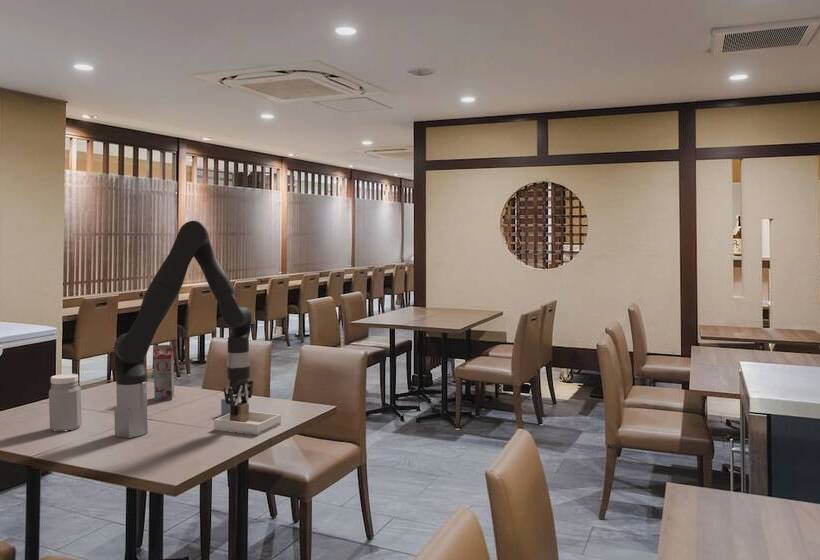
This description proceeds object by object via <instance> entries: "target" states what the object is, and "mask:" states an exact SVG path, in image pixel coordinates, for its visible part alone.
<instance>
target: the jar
mask: <svg viewBox="0 0 820 560" xmlns="http://www.w3.org/2000/svg"><path fill="white" fill-rule="evenodd" d="M78 381H79V374H77V373H63V374H62V373H61V374H56V375H52V376H50V389H49V391H48V407H49V408H48V409H49V410H48V411H49V429H50V430H55V431H65V430H71V431H73V430H72V429H75V430H77V429H79V428H81V426H82V423H83V421H82V390H81V386H79V382H78ZM78 427H79V428H78ZM76 428H77V429H76ZM55 431H54V432H55ZM65 432H66V431H65Z"/></svg>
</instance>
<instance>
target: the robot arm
mask: <svg viewBox="0 0 820 560" xmlns="http://www.w3.org/2000/svg"><path fill="white" fill-rule="evenodd" d="M193 258H194V260H196V262H197V263H198V265H199V267H200V269H201V271H202V274H203V275H204V278H205V280H206V282H207V284H208V286H209V289H210V290H211V292H212V295H213V296H214V297H215V300H216V302H217V304H218V308H219V311H220V314H221V318H222V319H223V322H224V323H225V324H226V325H227V327H229V328H230V329H231V333H230V334H229V336H228V337H227V355H226V357H227V358H226V368H227V369H226V373H227V376H226V377H227V380H229V385H228V386H227V387H224V388H223V395H224V398H225V401H226V404H229V405H230V406H231V416H237V415H238V409H237V402H238V399H239V400H240V403H248V401H249V399H251V398H253V397H252V395H253V388H254V381H253V380H249V379H250V378H251V362H250V361H251V360H250V359H251V358H250V344H249V343H250V341H249V340H250V333H251V328H252V321H253V319H252V313H251V311H250V309H249V308H248V307H246V306H244V305H240V306H239V304H238V301H237V299H236V298H237V297H238V293H237V291H236V289H235V287H234V285H233V283H232V282H231V279H230V277H229V276H228V275H227V273H226V271H225V270H224V268H223V267H222V265H221V263H220V262H219V260H218V258H217V256H216V254H215V252H214V250H213V247H212V243H211V241H210V235H209V231H208V230H207V228H206V226H205V225H204V224H203V223H202V222H200V221H197V220H189V221H187V222H185V223H184V224H183V225H182V226H181V227H180V228H179V230H178V233H177V235H176V238H175V239H174V243H173V244H172V247H171V249H170V252H169V253H168V255H167V257H166V258H165V260H164V261H163V263H162V264H161V265H160V267H159V269H158V270H157V272H156V274H155V275H154V277H153V278H152V280H151V282H150V283H149V285H148V288H147V289H146V291H145V293H144V296H143V299H142V300H141V304H140V309H139V312H138V315H137V317H136V318H135V320H134V322H133V324H132V325H131V327H130V329H129V330H128V331H127V332H126V333H123V334H120V335H119V336H118V337H117V338H116V340H115V341H114V346H113V358H114V359H113V360H114V362H113V363H114V374H115V382H116V383H115V385H116V386H115V388H116V391H115V392H116V394H115V395H116V406H115V407H114V409H113V410H114V411H113V412H114V437H119V438H127V439H131V438H135V437H136V438H137V437H141V436H144V435H147V434H148V432H149V431H148V430H149V429H148V428H149V425H148V420H149V419H148V384H147V383H148V378H147V376H148V375H147V371H146V365H145V357H146V355H147V353H148V351H149V349H150V346H151V344H152V342H153V339H154V336H155V335H156V332H157V330H158V329H159V326H160V325H161V324H162V322H163V320H164V318H165V317H166V315H167V314H168V312H169V310H170V309H171V307H172V305H173V304H174V302H175V300H176V299H177V297H178V295H179V293H180V291H181V290H182V286H183V284H184V280H185V278H186V275H187V273H188V272H187V271H188V268H189V265H190V264H191V262H192V260H193ZM233 398H235V401H234V399H233ZM229 399H230V401H229Z"/></svg>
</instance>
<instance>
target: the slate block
mask: <svg viewBox="0 0 820 560" xmlns="http://www.w3.org/2000/svg"><path fill="white" fill-rule="evenodd" d="M233 399H234V401H235V398H233ZM220 401H221V403H220V405H221V406H220V407H221V412H220V413H221V416H223V415H227V414H229V413H230V405H229V404H226V401H225V397H223V398H221V400H220ZM229 401H230V399H229ZM238 402H240V398H239V399H238Z"/></svg>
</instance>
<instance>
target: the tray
mask: <svg viewBox="0 0 820 560" xmlns="http://www.w3.org/2000/svg"><path fill="white" fill-rule="evenodd" d="M280 424H281V425H282V414H278V413H271V412H259V411H252V410H249V421H247V422H237V421H230V413H229V414H227V415H224V416H223V415H221V416H219V417H217V418H215V419H213V430H214V431H219V430H220V432H227V431H228V432H229V433H235V432H237V434H238V433H239V434H243V433H245V435H252V434H254V435H253V436H261V435H262V434H265V433H266V431H267V432H269V431H270V429H271V430H273V429H274V427H275V428H277V427H278V425H279V426H280ZM276 426H277V427H276ZM272 428H273V429H272ZM268 430H269V431H268Z"/></svg>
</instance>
